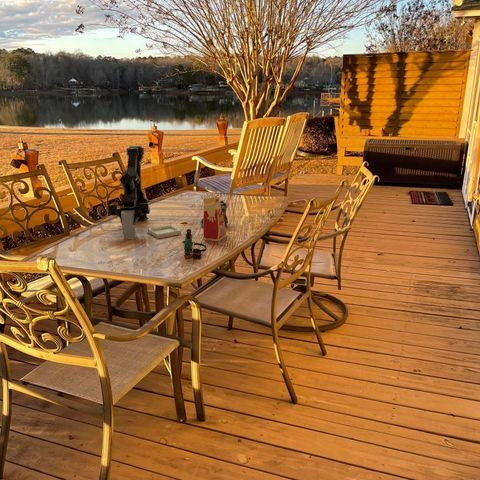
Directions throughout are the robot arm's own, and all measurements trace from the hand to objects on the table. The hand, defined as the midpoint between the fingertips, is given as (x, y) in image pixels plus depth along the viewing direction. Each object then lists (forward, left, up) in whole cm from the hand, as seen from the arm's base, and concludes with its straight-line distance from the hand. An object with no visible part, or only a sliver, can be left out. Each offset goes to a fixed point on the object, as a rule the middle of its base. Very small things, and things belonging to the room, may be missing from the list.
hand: (128, 224), depth 212 cm
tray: (+9, +14, -7) cm, 18 cm away
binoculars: (+42, -4, -7) cm, 43 cm away
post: (-1, +1, -7) cm, 7 cm away
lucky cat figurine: (+21, +38, -7) cm, 44 cm away
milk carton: (+34, +20, -7) cm, 40 cm away
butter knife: (+35, -16, -7) cm, 39 cm away
